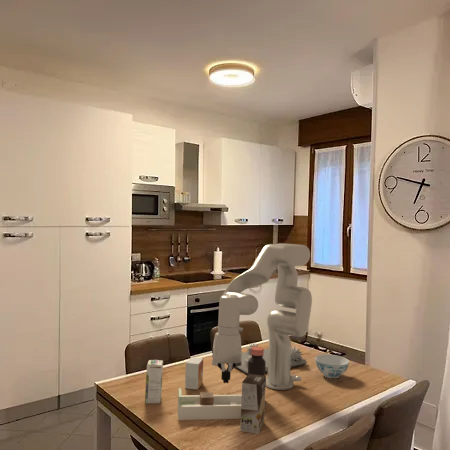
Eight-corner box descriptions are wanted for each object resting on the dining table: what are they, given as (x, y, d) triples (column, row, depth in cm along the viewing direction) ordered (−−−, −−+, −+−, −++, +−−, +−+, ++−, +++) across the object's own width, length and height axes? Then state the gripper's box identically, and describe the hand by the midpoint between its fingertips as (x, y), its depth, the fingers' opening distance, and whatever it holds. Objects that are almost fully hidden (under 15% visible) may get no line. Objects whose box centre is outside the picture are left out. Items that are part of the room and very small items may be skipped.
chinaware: (311, 379, 189) (312, 361, 189) (317, 368, 203) (318, 352, 203) (346, 385, 183) (347, 367, 183) (350, 374, 197) (350, 357, 197)
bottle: (259, 405, 159) (261, 352, 159) (243, 400, 163) (245, 348, 163) (267, 399, 165) (269, 347, 165) (251, 394, 169) (253, 344, 169)
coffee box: (258, 434, 137) (260, 385, 137) (239, 431, 139) (241, 382, 139) (264, 422, 146) (266, 375, 146) (246, 419, 148) (248, 373, 148)
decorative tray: (276, 352, 228) (276, 333, 228) (309, 366, 206) (310, 346, 206) (220, 361, 210) (221, 341, 210) (250, 378, 188) (251, 356, 188)
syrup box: (146, 397, 163) (147, 359, 163) (161, 397, 163) (163, 359, 163) (144, 403, 157) (146, 364, 157) (160, 403, 158) (162, 364, 157)
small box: (197, 390, 172) (198, 364, 172) (184, 388, 173) (185, 362, 173) (202, 383, 179) (203, 358, 179) (190, 381, 181) (191, 356, 180)
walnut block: (212, 403, 154) (212, 392, 154) (213, 408, 149) (213, 397, 149) (199, 403, 153) (200, 392, 153) (200, 409, 149) (200, 397, 149)
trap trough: (253, 406, 158) (253, 386, 158) (258, 418, 149) (259, 396, 149) (177, 407, 155) (178, 387, 155) (178, 419, 145) (178, 398, 145)
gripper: (247, 328, 156) (244, 378, 156) (206, 327, 155) (203, 378, 154) (250, 333, 149) (248, 385, 149) (208, 332, 147) (205, 385, 147)
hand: (225, 381), depth 151 cm, fingers closed
